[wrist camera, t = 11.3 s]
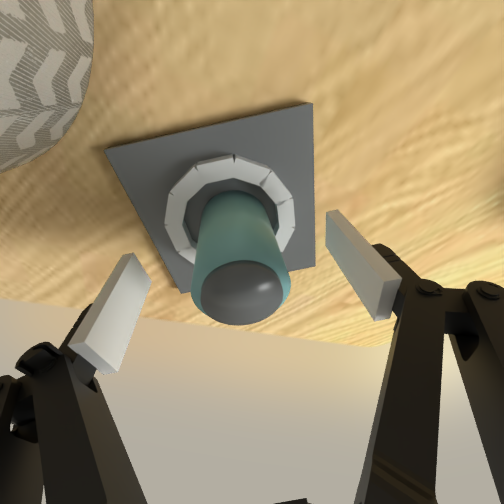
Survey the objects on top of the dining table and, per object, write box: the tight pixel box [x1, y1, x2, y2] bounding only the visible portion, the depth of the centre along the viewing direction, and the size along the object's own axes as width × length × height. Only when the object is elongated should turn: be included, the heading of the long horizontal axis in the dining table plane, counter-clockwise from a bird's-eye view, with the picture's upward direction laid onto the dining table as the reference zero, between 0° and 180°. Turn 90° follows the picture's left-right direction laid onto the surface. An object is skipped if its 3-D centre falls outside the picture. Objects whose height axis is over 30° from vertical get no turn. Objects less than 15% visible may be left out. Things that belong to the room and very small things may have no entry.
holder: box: [104, 103, 315, 294], centre depth 19 cm, size 14×14×2 cm
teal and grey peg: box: [191, 190, 291, 325], centre depth 15 cm, size 6×6×9 cm
